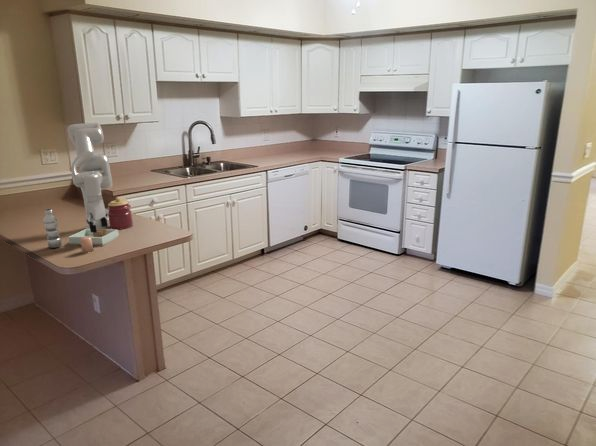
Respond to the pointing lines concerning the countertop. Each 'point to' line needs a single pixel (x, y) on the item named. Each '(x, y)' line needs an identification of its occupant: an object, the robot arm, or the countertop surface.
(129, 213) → the canister
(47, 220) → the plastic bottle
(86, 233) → the box
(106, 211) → the robot arm
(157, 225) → the countertop surface
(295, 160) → the countertop surface
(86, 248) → the tan rounded-top part
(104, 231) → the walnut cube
